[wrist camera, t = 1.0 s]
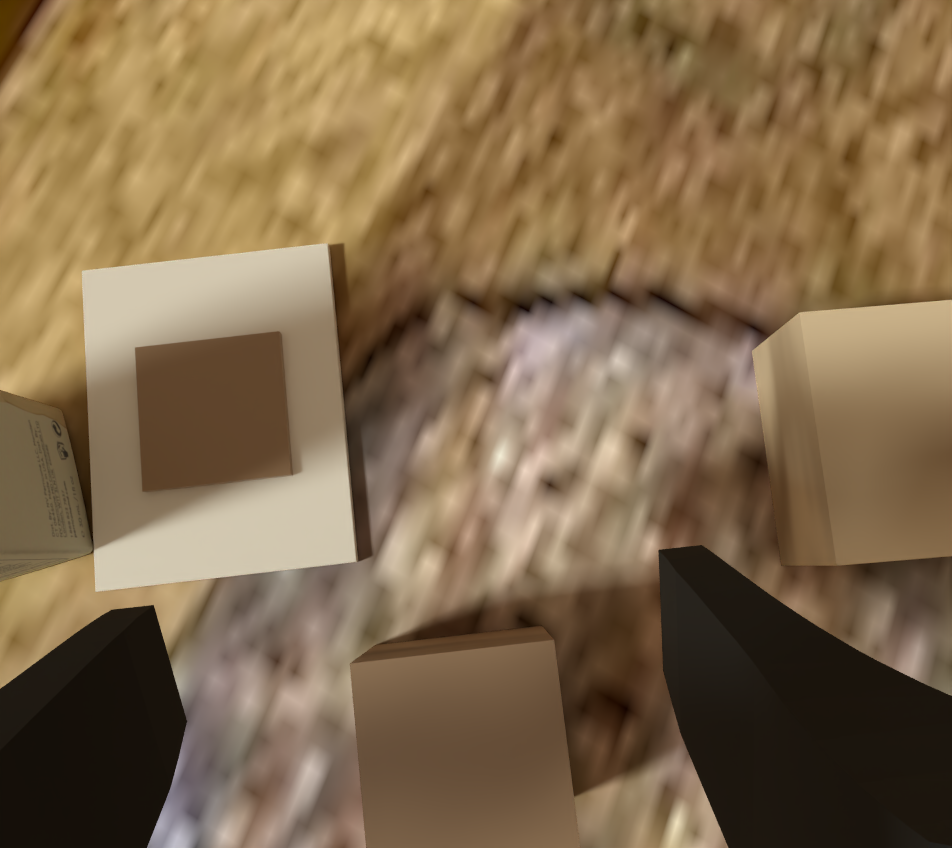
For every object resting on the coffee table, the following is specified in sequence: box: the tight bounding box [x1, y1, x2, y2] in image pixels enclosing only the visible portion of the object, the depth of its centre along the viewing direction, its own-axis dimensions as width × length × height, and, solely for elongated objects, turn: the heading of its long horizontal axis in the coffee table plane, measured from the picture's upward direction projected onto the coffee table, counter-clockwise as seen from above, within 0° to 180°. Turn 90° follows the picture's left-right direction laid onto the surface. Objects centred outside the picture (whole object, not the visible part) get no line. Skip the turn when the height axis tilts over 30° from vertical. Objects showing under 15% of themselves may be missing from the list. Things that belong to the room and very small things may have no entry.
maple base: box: [752, 300, 952, 566], centre depth 22 cm, size 6×6×4 cm
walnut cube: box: [350, 626, 580, 848], centre depth 21 cm, size 4×4×4 cm
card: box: [82, 243, 358, 592], centre depth 24 cm, size 9×7×1 cm
